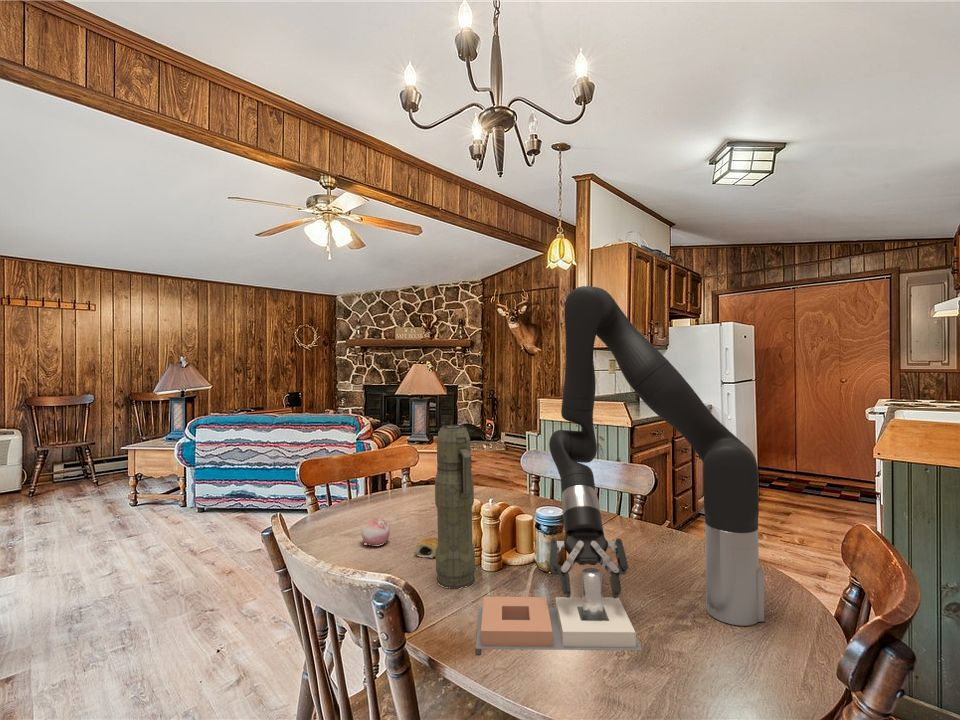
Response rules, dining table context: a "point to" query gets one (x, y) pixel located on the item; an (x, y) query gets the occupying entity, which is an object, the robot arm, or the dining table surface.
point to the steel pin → (592, 595)
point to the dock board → (552, 625)
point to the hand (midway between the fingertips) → (592, 596)
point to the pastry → (427, 547)
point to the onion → (376, 531)
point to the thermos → (454, 508)
